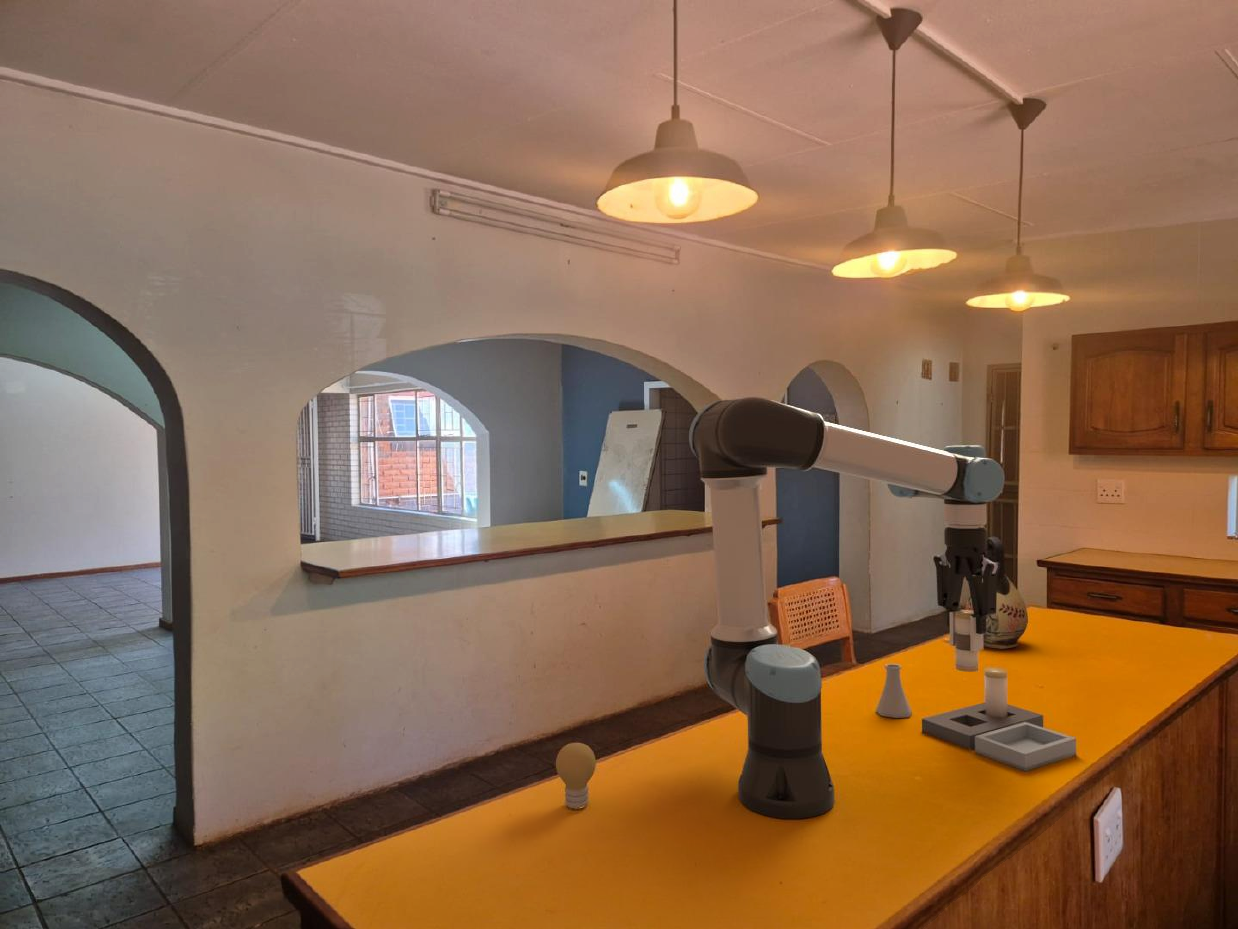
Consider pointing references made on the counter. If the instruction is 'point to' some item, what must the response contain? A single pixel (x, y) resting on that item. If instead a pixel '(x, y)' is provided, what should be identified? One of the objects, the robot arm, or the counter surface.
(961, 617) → the cylinder
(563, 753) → the light bulb
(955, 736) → the block
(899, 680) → the flask
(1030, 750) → the parts tray
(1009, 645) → the ceramic jug
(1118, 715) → the counter surface
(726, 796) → the counter surface
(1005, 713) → the cylinder
